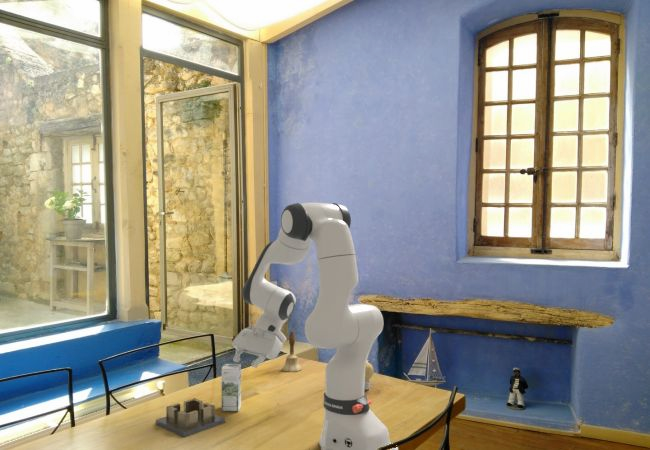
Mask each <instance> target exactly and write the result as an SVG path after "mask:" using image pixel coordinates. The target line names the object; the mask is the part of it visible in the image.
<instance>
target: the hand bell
mask: <svg viewBox="0 0 650 450" xmlns="http://www.w3.org/2000/svg"><path fill="white" fill-rule="evenodd" d="M288 343H289V354H288V355H286V358H285V363H284V365H283V367H281V370H282V371H283V372H288V373H294V372H295V373H296V372H299V371H301V370H302V369H303V368H302V366H301V365H300V364H299V361H298V356H297V355H295V350H294V349H295V343H296V336H295V332H294V330H291V331H290V332H289V336H288Z"/></svg>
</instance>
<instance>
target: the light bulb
mask: <svg viewBox="0 0 650 450" xmlns="http://www.w3.org/2000/svg"><path fill="white" fill-rule="evenodd" d="M374 373H375V372H374V367H373V364H371V362H368V361H367V362H366V367H365V386H364V391H368V390H370V389H371V382H370V381H371V380H370V379H371V378H372V377H373V375H374Z"/></svg>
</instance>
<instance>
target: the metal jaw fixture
mask: <svg viewBox="0 0 650 450" xmlns="http://www.w3.org/2000/svg"><path fill="white" fill-rule="evenodd" d="M165 409H166V415H165V416H163V417H160V418H158V419H155V425H157V426H160V427H161V428H163V429H166V430H168V431H170V432H172V433H174V434H176V435H179V436H180V437H183V438H186V437H189V436H191V435H194V434H197V433H199V432H203V431H205V430H208V429H211V428H213V427H216V426H218V425H222V424H225V423H226V418H225V417H223V416H221V415H218V414H216V413H215V412H216V411H215V409H216V406H215V405H214V404H211V403H209V402H203V400H201V399H199V398H195V397H194V398H191V399H187V400H183V410H181V403H174V404H171V405H169V406H166V408H165Z"/></svg>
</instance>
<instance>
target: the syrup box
mask: <svg viewBox="0 0 650 450" xmlns="http://www.w3.org/2000/svg"><path fill="white" fill-rule="evenodd" d="M241 389H242V364H241V363H224V364H223V365H222V367H221V412H227V413H228V412H233V413H234V412H239V411H240V409H241V406H242V390H241Z"/></svg>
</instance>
